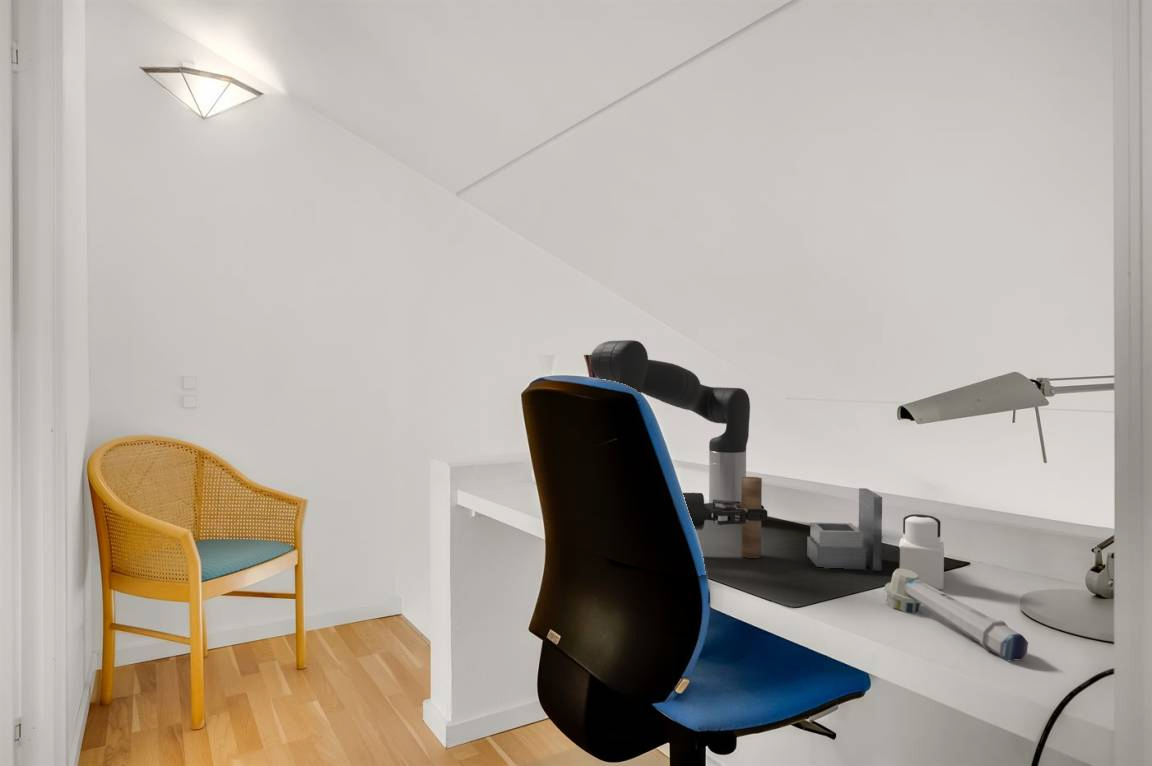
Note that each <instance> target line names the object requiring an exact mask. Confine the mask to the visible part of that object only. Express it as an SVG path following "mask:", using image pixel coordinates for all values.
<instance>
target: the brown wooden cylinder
mask: <svg viewBox="0 0 1152 766" xmlns="http://www.w3.org/2000/svg"><path fill="white" fill-rule="evenodd" d="M762 479H763V478H762V477H759V476H746V477H742V478H741V508H746V509H761V505H762V494H763V492H762V486H763V484H762V482H763V481H762ZM741 556H742V557H741ZM740 557H741V558H743V557H746V558H745V559H747V558H758V559H760V558H759V557H761V558H762V521H751V520H748V521H747V522H746V523H744V524H740Z"/></svg>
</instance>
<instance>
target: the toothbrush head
mask: <svg viewBox="0 0 1152 766" xmlns="http://www.w3.org/2000/svg"><path fill="white" fill-rule="evenodd" d="M884 591H885V593H886V596H885V597H886V599H885V602H887V606H889V608H891V609H893V610H896V609H897V610H900V611H902V613H903V612H904V613H918V612H920V611H921V605H922V606H923V607H926V608H927V610H930V611H931V612H933V613H934V614H936V615H937V616H939V617H940V618H941V619H943V620H945V621H946V622H948V623H949V624H951V625H952V626H953V627H955V628H956V629H958V630H959V631H961V632H963V633H964V634H965V635H967V636H968V637H970V638H972V639H973V640H974V641H976V642H978V643H979V644H980V645H981V646H982V647H983V648H984V649H985V651H987V652H993V653H994V654H995V655H997V656H999V657H1000V656H1001V657H1000V658H1002V657H1003V658H1002V659H1004V660H1005V659H1006V661H1007V660H1013V661H1015V660H1014V659H1021V660H1023V658H1024V657H1025V656H1026V655H1027V654H1028V648H1029V647H1028V646H1029V642H1028V641H1027V639H1026V638H1025V637H1024V636H1023V635H1022V634H1021V633H1019V632H1017V631H1016V630H1014V629H1012V628H1010V627H1009V626H1008V625H1007V624H1006V622H1005V621H1004V620H1003V619H1000V620H997V619H995V618H993V617H991V616H989V615H987V614H986V613H984V612H982V611H980V610H977V609H976V608H973V607H971V605H968V604H966V603H964V602H962V601H960V600H958V599H956V598H954V597H953V596H950V595H949V594H947V593H945V592H943V591H942V590H937V589H935V588H933V587H931V586H929V585H928V584H926V583H924V582H922V581H920V580H919V577H918V575H917V574H916V573H915V572H913V571H910V570H907V569H902V568H900V569H899V568H896V569H894V571H893V572H892V575H891V580H890V582H887V583H886V584H885V585H884Z"/></svg>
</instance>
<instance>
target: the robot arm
mask: <svg viewBox="0 0 1152 766" xmlns="http://www.w3.org/2000/svg"><path fill="white" fill-rule="evenodd" d="M589 359H590V367H591V370H592V372H593V374H594V375H595V376H596V377H597V378H598V380H600V379H606V380H611V381H616V382H619V383H623V384H626V385H628V386H630V387H632V388H634V389H636V390H637V391H638V392H640V393H641V394H644V395H646V396H648V397H651V398H653V399H656V400H657V401H660V402H662V403H665V404H667V405H670V406H673V407H675V408H680V409H681V410H686V411H691V412H693V413H694V414H697V416H700V417H702V418H703V419H705V420H706V421H709V422H711V423H714V424H721V425H722V424H724V425H726V428H725V431H724V432H723V433H722V434H720V435H718V436H715V437H713V438H711V439H710V440H709V443H708V444H709V445H708V447H709V448H708V450H709V451H708V452H709V453H708V454H709V455H708V458H709V460H708V462H709V463H708V464H709V465H708V471H709V473H708V474H709V475H708V486H709V487H708V502H705V497H704V494H703V493H701V492H682V493H683V495H684V497H685V501H686V504H687V507H688V510H689V513H690V516H691V518H692V521H693V524H694V526H695V529H696V530H695V531H702V530H703V529H704V528H705V521H712V522H713V523H714V524H717V525H719V526H722V525H724V526H726V525H741V524H744V523H746V522H747V521H748V520H751V521H761V522H762V521H763V522H766V521H767V520H768V510H767V509H765V506H764V505H763V504H761V509H746V508H741V478H742V477H747V445H748V441H749V437H750V436H749V434H750V431H749V430H750V417H751V416H750V414H751V403H750V402H751V401H750V397H749V394H748V392H747V391H746V390H745V389H743V388H740V387H722V386H721V387H719V386H717V387H715V386H714V387H713V386H708V385H704V384H701V380H700V379H699V377H698V376H697V375H696V374H695V373H694V372H693V371H691V370H689V369H687V368H685V367H683V366H680V365H678V364H674V363H671V362H665V361H661V360H653V359H649V356H648V351H647V349H646V348H645V346H644V344H643V343H641V342H640V341H638V340H635V339H634V340H631V339H629V340H628V339H626V340H608V341H604V342H601V343H600V344H598V345H597V346H596V347H595V348H594V349H593V350H592V352H591V356H590V358H589Z"/></svg>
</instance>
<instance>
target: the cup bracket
mask: <svg viewBox="0 0 1152 766" xmlns="http://www.w3.org/2000/svg"><path fill="white" fill-rule="evenodd" d="M882 526H883V497H882V496H881V495H879V494H877V493H876V492H874V491H872V490H870V489H868V488H864V487H861V488H858V527H857V526H856V525H854V524H853V523H851V522H850V523H847V522H810V534H809V535H810V536H806V537H807V538H806V539H807V546H806V547H807V548H806V549H807V550H806V551H807V553H806V555H807V558H808V557H809V558H810V559H811V560H812V561H811V560H810V559H809V560H810V561H811V562H812V563H814V564H815V565H816V566H817V567H824V568H823V569H829V568H844V569H843V570H866V567H869V568H870V569H871V570H872V571H875V570H876V572H877V571H879V572H881V571H882V561H883V560H882V557H883V556H882V554H883V553H882V552H883V551H882V549H883V548H882V545H883V541H882V540H883V539H882V537H883V527H882ZM814 564H813V565H814ZM815 565H814V566H815ZM816 566H815V567H816ZM817 567H816V568H817Z"/></svg>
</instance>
